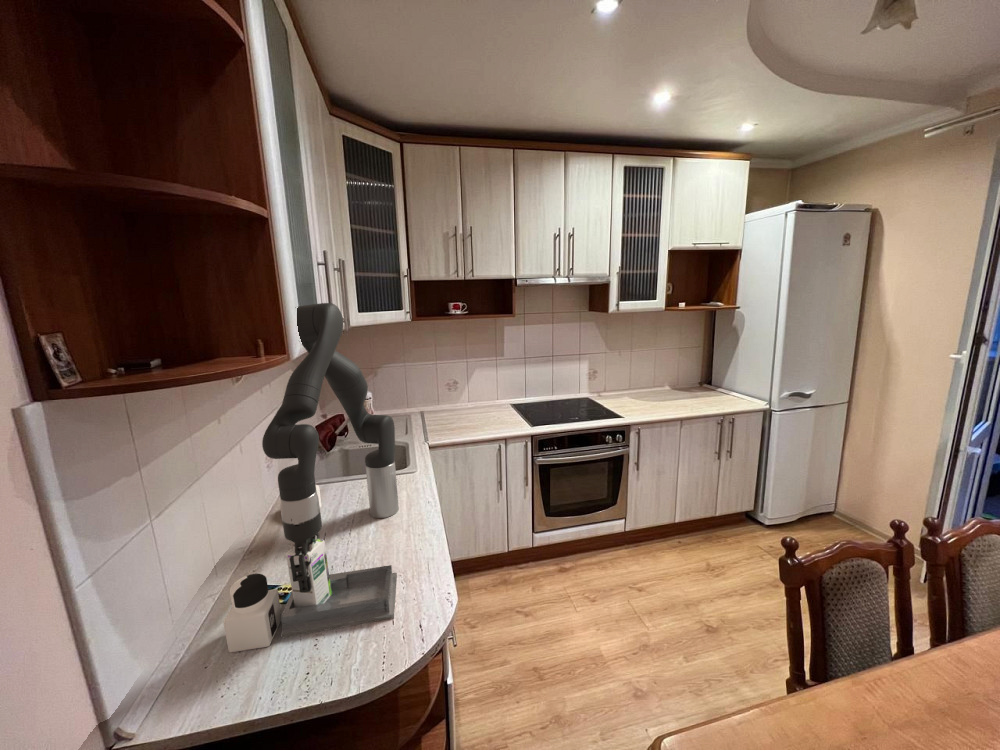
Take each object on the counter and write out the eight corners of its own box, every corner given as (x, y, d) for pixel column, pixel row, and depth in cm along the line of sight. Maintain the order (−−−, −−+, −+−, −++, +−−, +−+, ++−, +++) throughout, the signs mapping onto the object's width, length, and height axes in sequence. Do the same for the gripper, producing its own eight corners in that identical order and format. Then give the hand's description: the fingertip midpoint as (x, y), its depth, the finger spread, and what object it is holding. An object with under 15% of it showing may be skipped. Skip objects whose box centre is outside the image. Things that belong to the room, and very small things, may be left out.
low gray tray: (300, 591, 98) (298, 576, 97) (396, 575, 103) (395, 562, 102) (281, 637, 85) (279, 621, 84) (394, 617, 89) (392, 602, 88)
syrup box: (317, 613, 89) (309, 554, 86) (293, 609, 90) (285, 551, 87) (332, 594, 94) (325, 538, 92) (310, 591, 95) (302, 536, 93)
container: (282, 618, 90) (274, 566, 87) (269, 647, 82) (260, 591, 80) (245, 623, 89) (236, 571, 86) (228, 653, 81) (217, 597, 79)
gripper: (292, 499, 94) (300, 561, 97) (271, 533, 80) (282, 605, 83) (326, 495, 95) (333, 557, 99) (311, 528, 82) (320, 599, 85)
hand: (310, 579), depth 91 cm, fingers closed on syrup box, 7 cm apart
